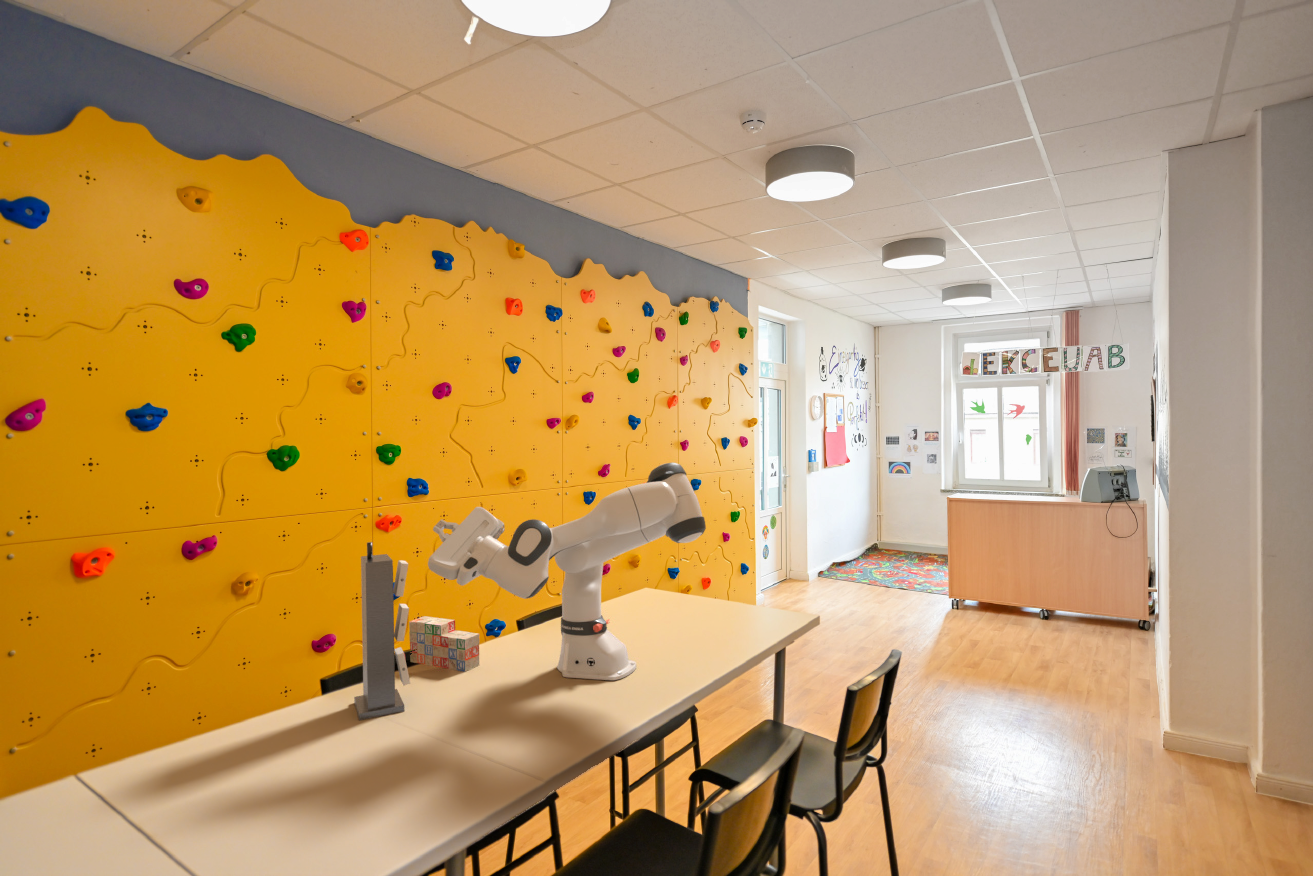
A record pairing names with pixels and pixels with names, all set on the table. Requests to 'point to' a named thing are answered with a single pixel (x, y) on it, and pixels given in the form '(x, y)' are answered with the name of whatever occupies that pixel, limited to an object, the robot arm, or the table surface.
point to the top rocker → (400, 578)
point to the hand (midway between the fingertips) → (436, 524)
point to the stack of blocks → (443, 644)
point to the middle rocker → (401, 622)
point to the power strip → (377, 639)
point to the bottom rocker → (402, 666)
